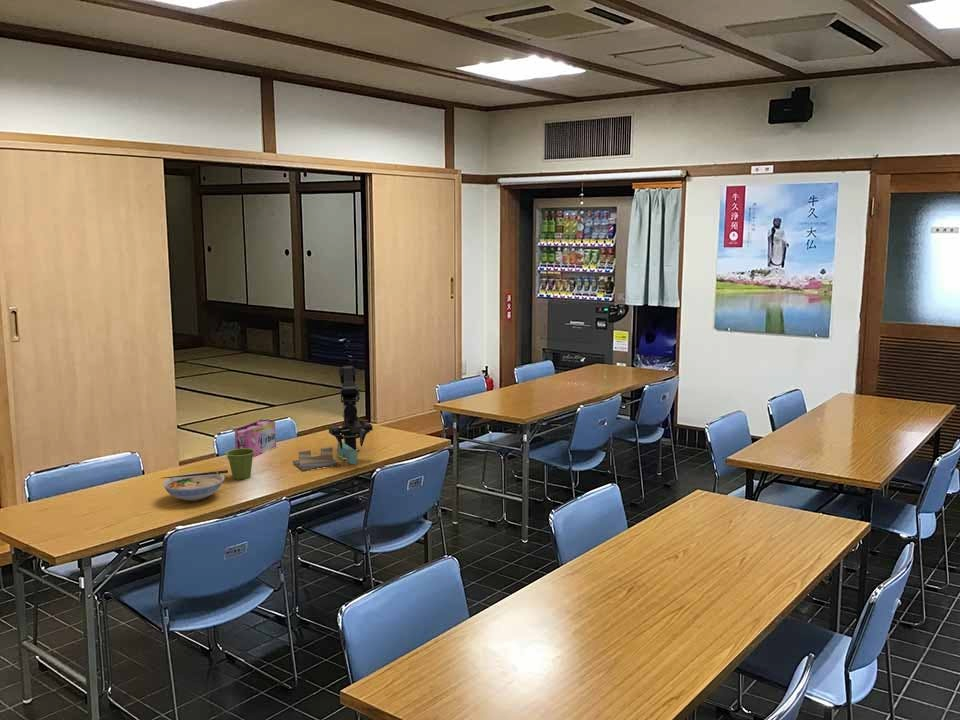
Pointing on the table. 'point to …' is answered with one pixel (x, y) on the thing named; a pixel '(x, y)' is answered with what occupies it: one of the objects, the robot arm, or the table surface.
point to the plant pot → (240, 462)
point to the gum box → (256, 436)
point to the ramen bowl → (194, 485)
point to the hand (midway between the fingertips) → (351, 447)
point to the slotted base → (316, 465)
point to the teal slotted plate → (348, 453)
